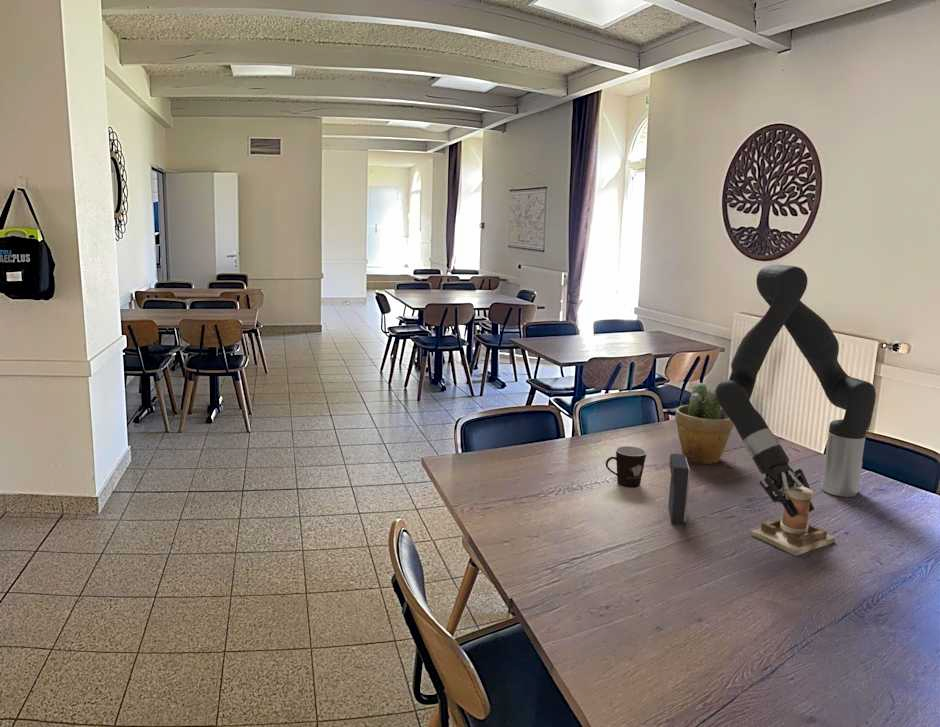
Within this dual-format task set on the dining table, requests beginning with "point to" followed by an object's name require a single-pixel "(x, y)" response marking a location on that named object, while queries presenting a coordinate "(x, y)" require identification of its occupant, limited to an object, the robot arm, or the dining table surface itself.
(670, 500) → the calculator
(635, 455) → the coffee mug
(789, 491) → the bobbin
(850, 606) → the dining table surface
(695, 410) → the potted plant
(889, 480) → the dining table surface
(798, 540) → the board
